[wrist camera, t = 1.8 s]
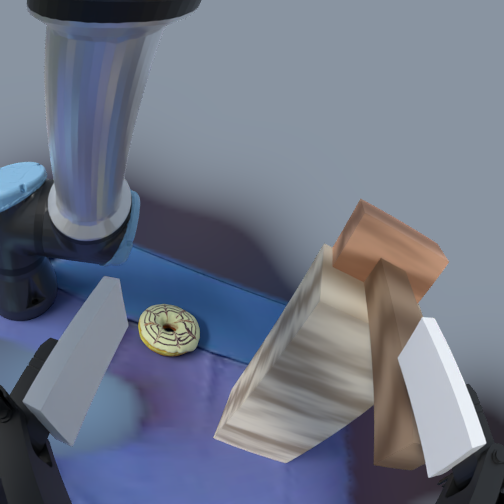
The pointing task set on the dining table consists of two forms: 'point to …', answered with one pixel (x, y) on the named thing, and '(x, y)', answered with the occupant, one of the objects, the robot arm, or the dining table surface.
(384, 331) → the wooden mallet
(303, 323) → the stand
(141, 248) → the dining table surface
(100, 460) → the dining table surface
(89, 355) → the robot arm
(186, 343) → the decorated donut
